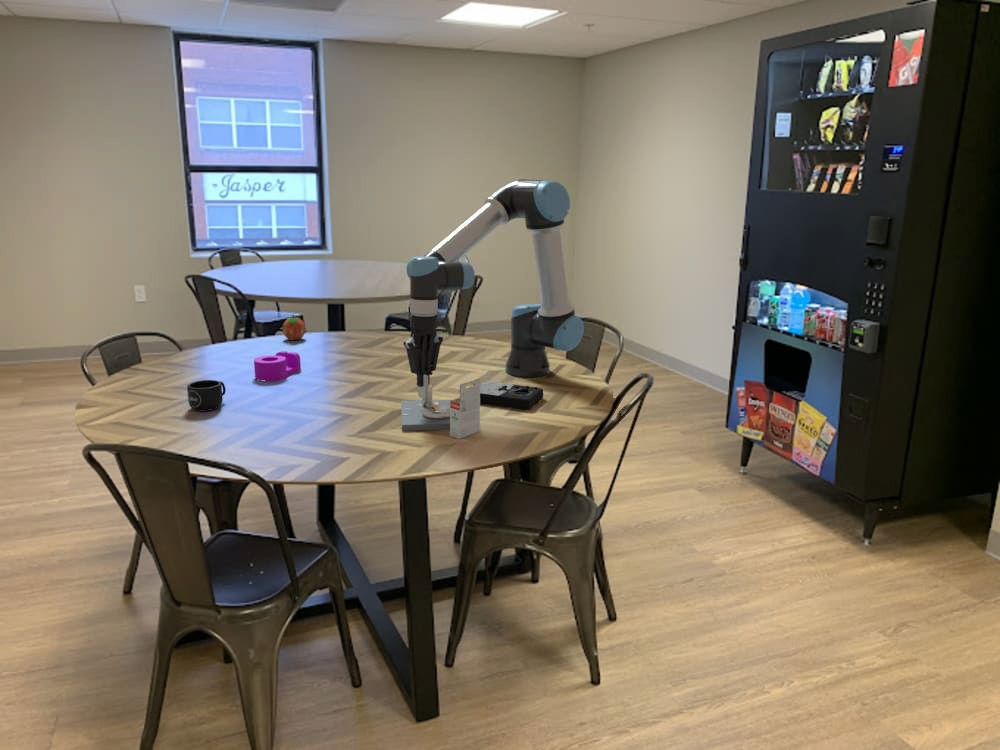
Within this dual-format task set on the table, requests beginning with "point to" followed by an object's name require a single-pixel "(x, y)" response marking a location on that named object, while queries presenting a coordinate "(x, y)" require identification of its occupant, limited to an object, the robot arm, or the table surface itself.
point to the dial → (434, 408)
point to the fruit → (294, 328)
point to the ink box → (465, 411)
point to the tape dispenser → (276, 366)
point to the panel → (416, 421)
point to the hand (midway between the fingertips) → (423, 396)
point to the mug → (205, 394)
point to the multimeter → (509, 395)
